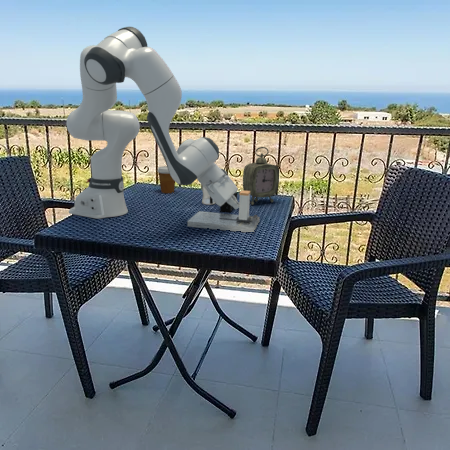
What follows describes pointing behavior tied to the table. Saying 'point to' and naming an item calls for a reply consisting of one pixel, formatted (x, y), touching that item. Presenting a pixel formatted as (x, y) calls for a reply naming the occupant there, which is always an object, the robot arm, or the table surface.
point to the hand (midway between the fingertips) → (238, 207)
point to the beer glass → (207, 198)
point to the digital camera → (223, 207)
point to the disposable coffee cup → (166, 180)
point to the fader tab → (244, 206)
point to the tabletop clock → (261, 178)
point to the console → (222, 222)
